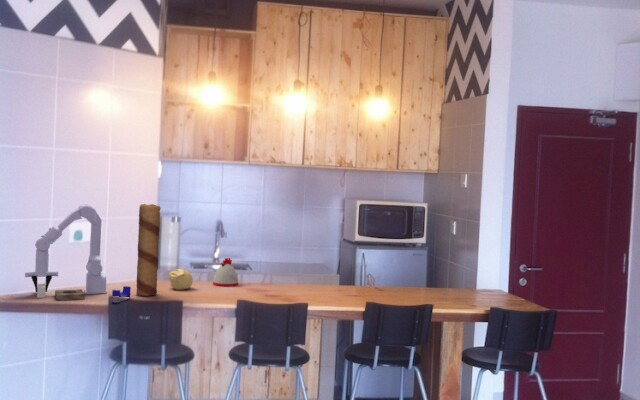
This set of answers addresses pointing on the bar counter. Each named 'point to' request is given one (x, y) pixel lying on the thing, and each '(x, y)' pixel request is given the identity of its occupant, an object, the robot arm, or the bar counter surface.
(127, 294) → the cable clip
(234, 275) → the pompom beanie hat
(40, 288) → the bar
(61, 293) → the brown square tray
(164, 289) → the bar counter surface
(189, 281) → the sculpture
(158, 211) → the wafer roll
